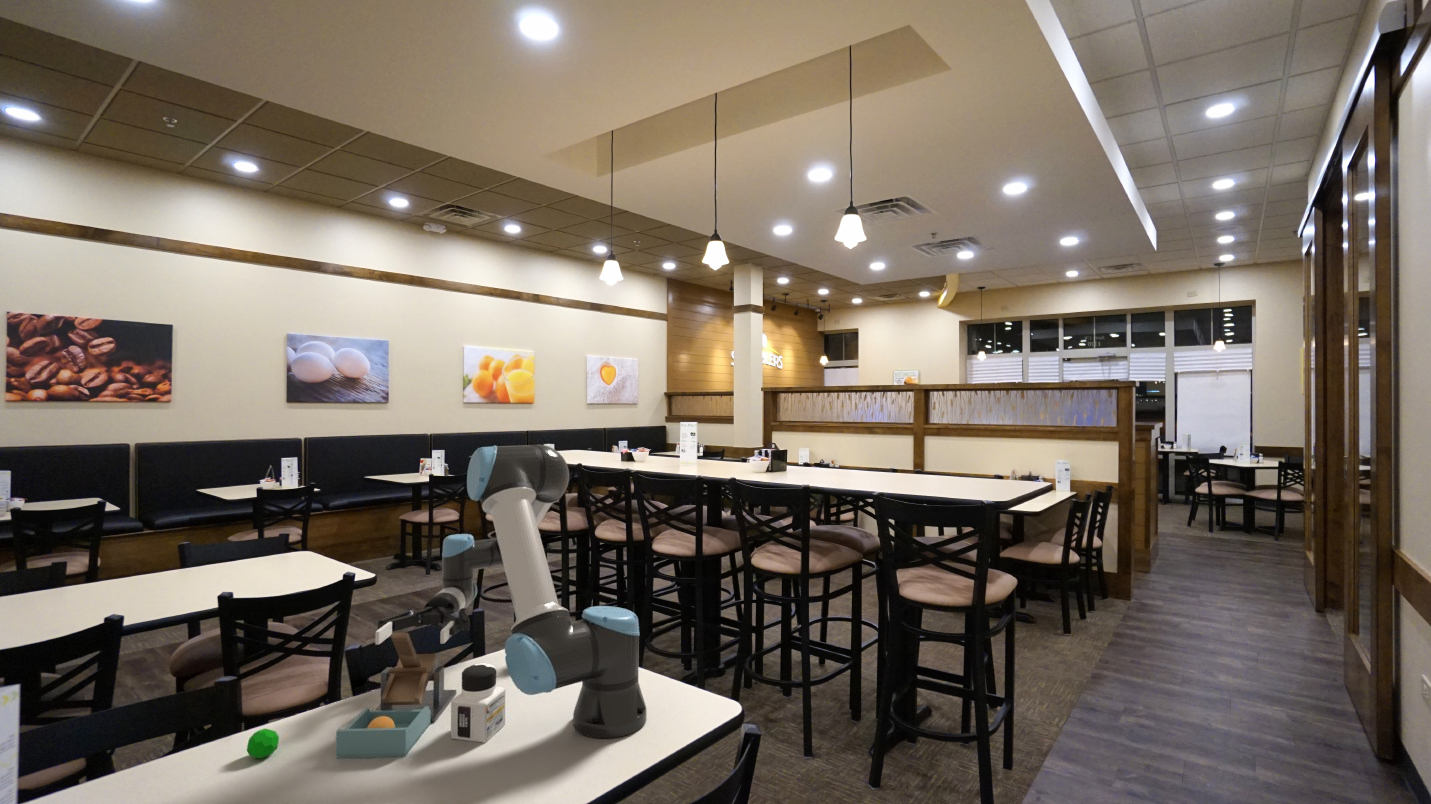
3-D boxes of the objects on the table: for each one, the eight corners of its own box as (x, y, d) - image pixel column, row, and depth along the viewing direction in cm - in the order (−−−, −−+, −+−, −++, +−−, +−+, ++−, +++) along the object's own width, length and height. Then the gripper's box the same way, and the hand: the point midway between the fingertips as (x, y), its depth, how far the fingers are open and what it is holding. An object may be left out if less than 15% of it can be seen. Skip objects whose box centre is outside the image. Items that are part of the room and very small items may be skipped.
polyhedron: (282, 747, 126) (283, 722, 126) (273, 761, 121) (273, 735, 121) (252, 751, 125) (252, 726, 125) (242, 765, 120) (242, 739, 120)
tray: (367, 725, 135) (367, 700, 135) (430, 723, 136) (430, 699, 136) (335, 758, 123) (336, 731, 123) (405, 756, 123) (405, 729, 123)
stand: (393, 695, 149) (393, 657, 149) (456, 694, 150) (456, 656, 150) (365, 724, 136) (365, 682, 136) (434, 722, 136) (435, 681, 136)
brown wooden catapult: (403, 665, 148) (384, 619, 138) (444, 664, 149) (428, 618, 139) (384, 714, 139) (363, 669, 129) (428, 713, 140) (410, 668, 130)
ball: (392, 738, 124) (401, 714, 129) (364, 732, 123) (375, 708, 127) (386, 752, 127) (395, 728, 131) (359, 747, 125) (369, 722, 130)
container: (485, 743, 128) (486, 676, 128) (449, 739, 130) (450, 673, 130) (505, 724, 136) (506, 661, 136) (472, 720, 137) (472, 658, 137)
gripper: (495, 621, 163) (469, 654, 142) (392, 623, 161) (349, 656, 140) (496, 591, 163) (469, 619, 142) (392, 592, 161) (349, 620, 140)
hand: (409, 637), depth 141 cm, fingers open, 13 cm apart
